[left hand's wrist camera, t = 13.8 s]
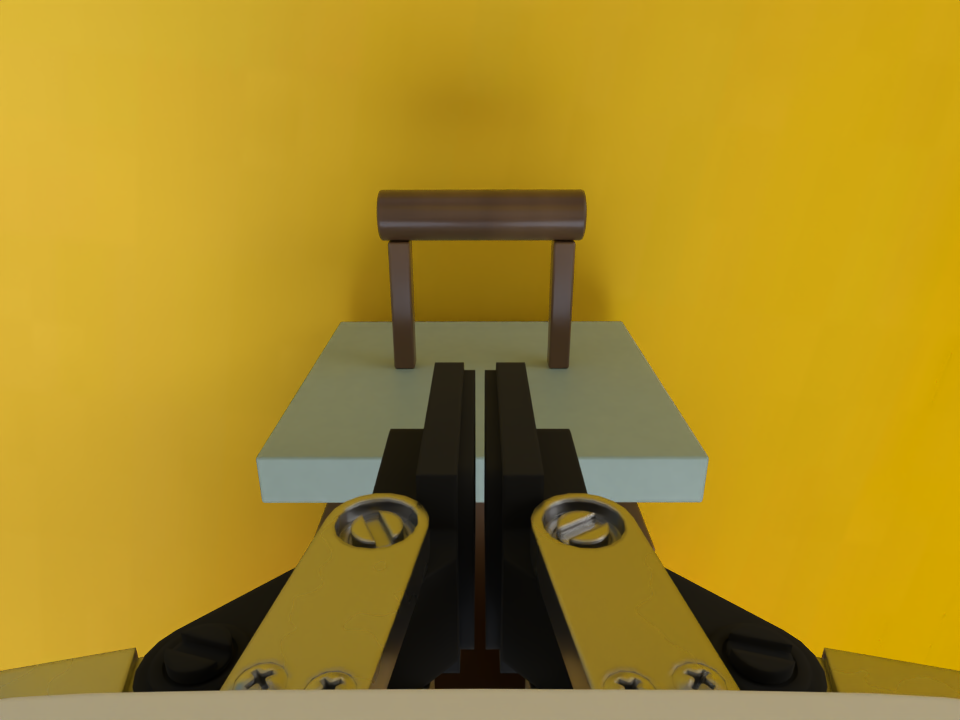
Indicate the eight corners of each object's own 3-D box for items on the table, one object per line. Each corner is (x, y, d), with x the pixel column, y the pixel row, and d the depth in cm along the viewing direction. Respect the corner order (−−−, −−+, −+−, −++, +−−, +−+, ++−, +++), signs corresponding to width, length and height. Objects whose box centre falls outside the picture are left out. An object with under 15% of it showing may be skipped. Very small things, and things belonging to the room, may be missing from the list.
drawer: (327, 173, 21) (220, 226, 13) (634, 173, 21) (744, 225, 13) (374, 724, 31) (331, 979, 22) (589, 723, 31) (633, 979, 22)
